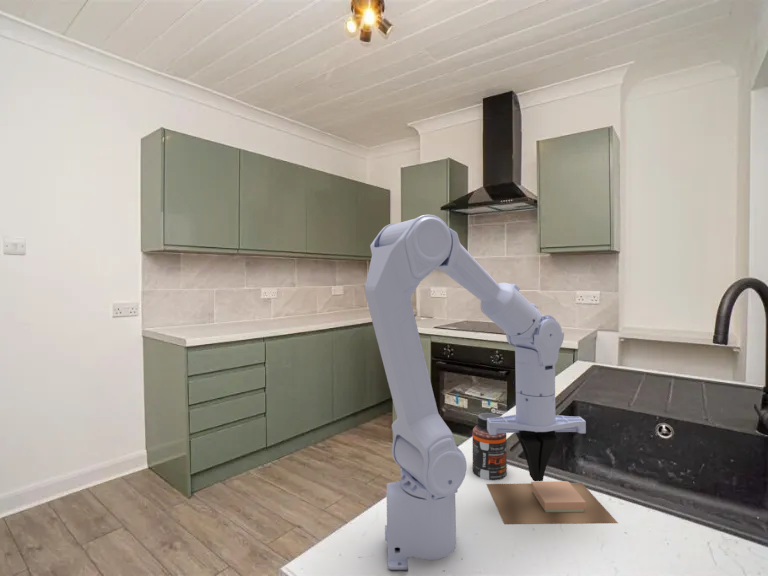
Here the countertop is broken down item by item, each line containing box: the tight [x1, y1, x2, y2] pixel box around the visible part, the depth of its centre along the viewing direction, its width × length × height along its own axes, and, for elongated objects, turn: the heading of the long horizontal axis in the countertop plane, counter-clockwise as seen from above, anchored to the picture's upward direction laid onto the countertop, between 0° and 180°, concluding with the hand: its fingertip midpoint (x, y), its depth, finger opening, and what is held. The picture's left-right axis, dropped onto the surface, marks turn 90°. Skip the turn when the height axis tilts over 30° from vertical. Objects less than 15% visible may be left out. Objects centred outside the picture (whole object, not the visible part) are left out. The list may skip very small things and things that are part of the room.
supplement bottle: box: [472, 412, 508, 481], centre depth 73 cm, size 6×6×11 cm
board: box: [486, 482, 619, 525], centre depth 63 cm, size 16×11×1 cm
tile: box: [530, 480, 586, 512], centre depth 63 cm, size 2×6×6 cm
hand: (536, 478), depth 63 cm, fingers closed
